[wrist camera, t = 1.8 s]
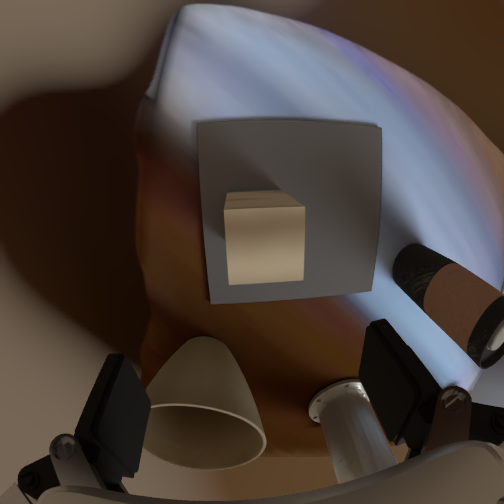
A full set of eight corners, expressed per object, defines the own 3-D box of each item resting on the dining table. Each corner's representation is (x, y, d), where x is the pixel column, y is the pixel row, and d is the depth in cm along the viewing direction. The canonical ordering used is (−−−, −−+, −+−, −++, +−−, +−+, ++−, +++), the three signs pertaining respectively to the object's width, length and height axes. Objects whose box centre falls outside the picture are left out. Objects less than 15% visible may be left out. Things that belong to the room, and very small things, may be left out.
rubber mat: (369, 289, 36) (371, 291, 36) (211, 301, 35) (210, 304, 35) (379, 128, 29) (381, 127, 28) (197, 124, 28) (196, 123, 27)
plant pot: (258, 313, 36) (273, 406, 21) (252, 388, 41) (260, 470, 26) (149, 309, 35) (110, 394, 20) (162, 384, 40) (144, 463, 25)
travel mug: (405, 297, 37) (484, 378, 19) (381, 270, 35) (473, 355, 17) (436, 262, 36) (525, 326, 17) (415, 230, 34) (520, 291, 15)
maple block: (281, 240, 32) (303, 280, 22) (230, 243, 32) (228, 284, 22) (280, 189, 30) (305, 206, 20) (227, 191, 30) (223, 209, 20)
